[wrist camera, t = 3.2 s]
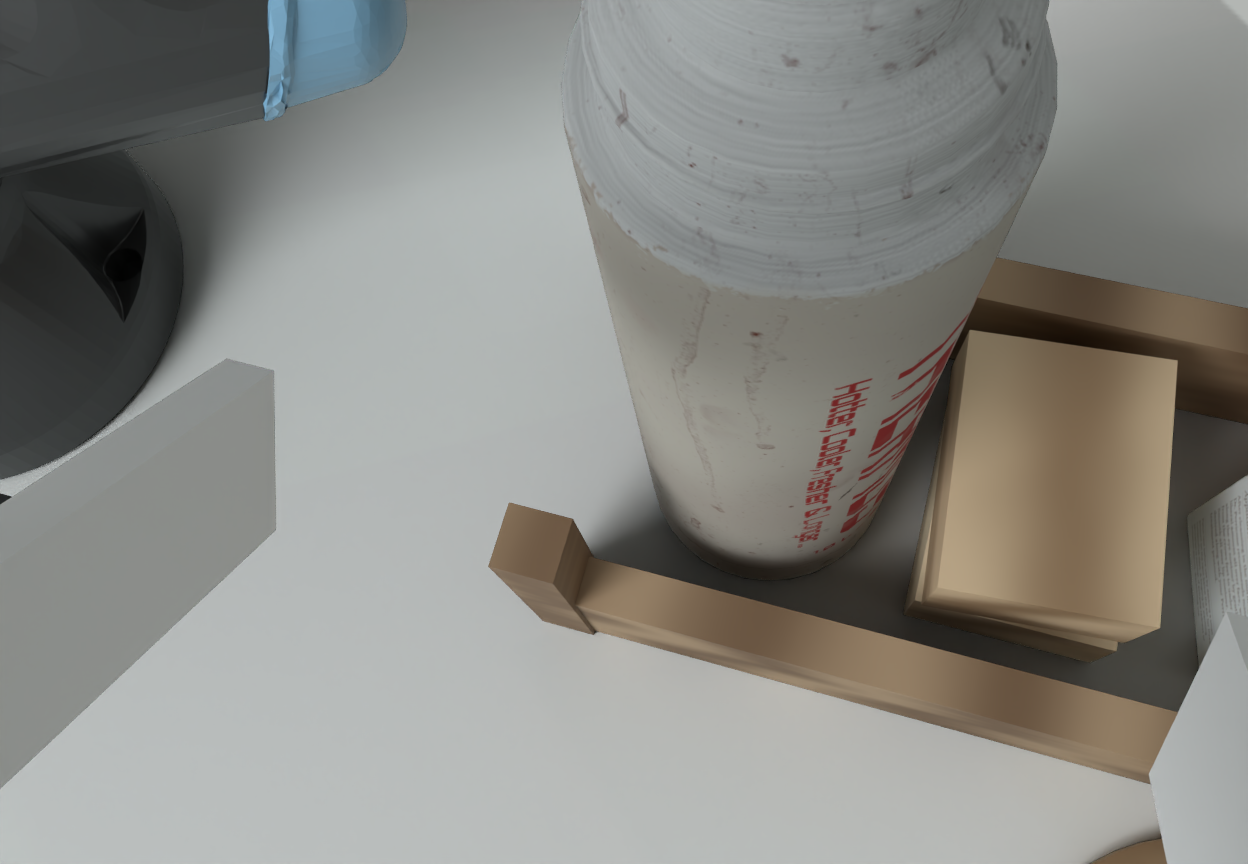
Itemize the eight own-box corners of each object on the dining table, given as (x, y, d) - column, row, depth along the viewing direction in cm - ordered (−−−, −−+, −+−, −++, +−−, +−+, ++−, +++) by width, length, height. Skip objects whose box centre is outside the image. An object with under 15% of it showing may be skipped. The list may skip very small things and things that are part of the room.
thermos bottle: (931, 498, 38) (1368, -196, 12) (736, 627, 38) (738, 189, 11) (795, 321, 41) (906, -575, 14) (610, 438, 40) (368, -282, 14)
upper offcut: (921, 605, 35) (937, 587, 32) (951, 366, 37) (970, 329, 34) (1124, 643, 34) (1160, 628, 31) (1142, 395, 36) (1177, 360, 33)
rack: (543, 621, 38) (488, 566, 30) (655, 252, 42) (635, 111, 34) (1436, 868, 33) (1674, 887, 25) (1466, 425, 37) (1681, 312, 29)
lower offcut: (901, 616, 38) (914, 599, 35) (947, 397, 40) (963, 365, 37) (1086, 663, 36) (1116, 651, 34) (1123, 436, 39) (1153, 406, 36)
